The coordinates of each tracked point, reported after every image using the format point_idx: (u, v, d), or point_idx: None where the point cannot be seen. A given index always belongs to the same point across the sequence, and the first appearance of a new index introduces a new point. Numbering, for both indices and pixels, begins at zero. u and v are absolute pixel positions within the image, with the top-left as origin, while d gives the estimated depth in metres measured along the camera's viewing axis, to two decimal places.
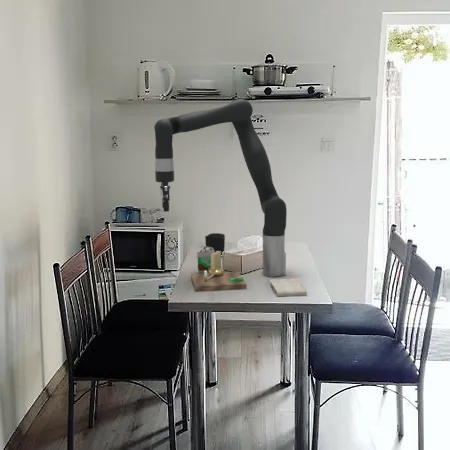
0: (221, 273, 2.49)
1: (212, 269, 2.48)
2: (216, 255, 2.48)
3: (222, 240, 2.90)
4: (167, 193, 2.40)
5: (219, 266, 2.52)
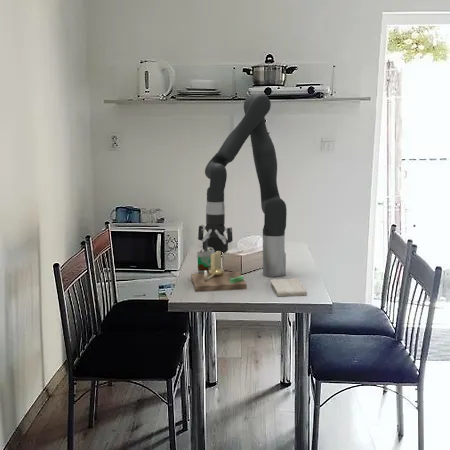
0: (221, 273, 2.49)
1: (212, 269, 2.48)
2: (216, 255, 2.48)
3: None
4: (231, 234, 2.46)
5: (219, 266, 2.52)
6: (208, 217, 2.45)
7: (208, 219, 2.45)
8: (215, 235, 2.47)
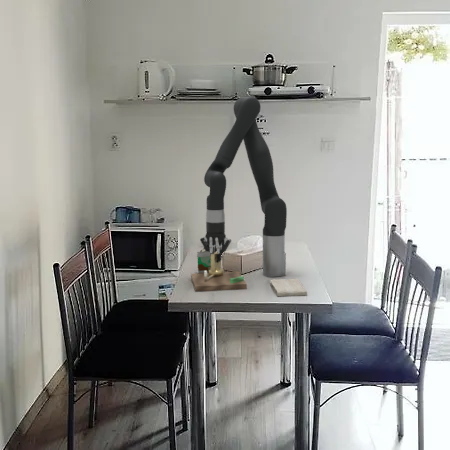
0: (221, 273, 2.49)
1: (212, 269, 2.48)
2: (216, 255, 2.48)
3: None
4: (227, 246, 2.48)
5: (219, 266, 2.52)
6: (208, 225, 2.45)
7: (208, 227, 2.45)
8: (215, 243, 2.48)
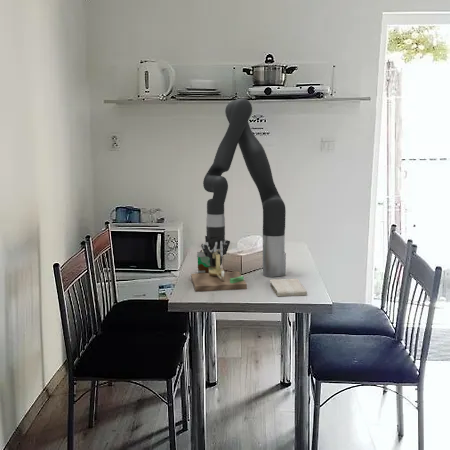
0: None
1: (218, 269, 2.48)
2: None
3: None
4: None
5: None
6: (217, 230, 2.44)
7: (217, 232, 2.44)
8: (218, 247, 2.49)
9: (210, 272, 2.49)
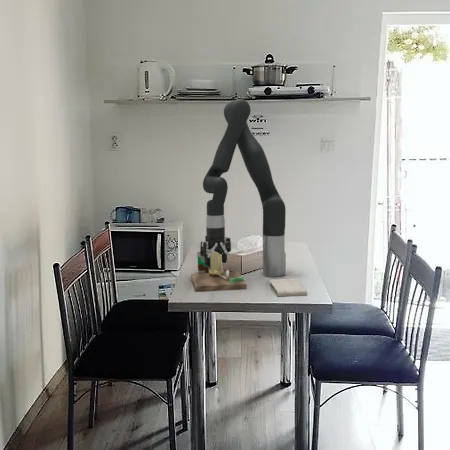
0: None
1: (219, 269, 2.48)
2: None
3: None
4: None
5: None
6: (217, 231, 2.45)
7: (217, 233, 2.45)
8: (218, 248, 2.49)
9: (211, 272, 2.49)
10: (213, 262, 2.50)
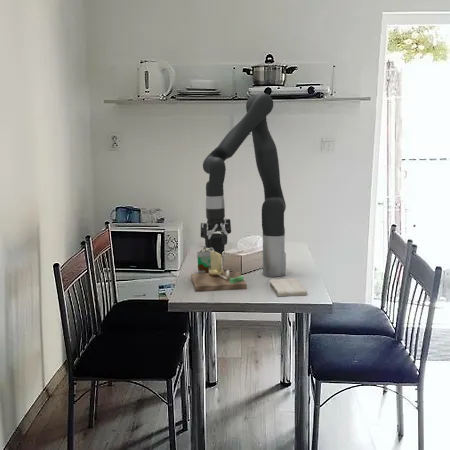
0: None
1: (219, 269, 2.48)
2: None
3: None
4: None
5: None
6: (217, 212, 2.43)
7: (217, 214, 2.43)
8: (218, 229, 2.47)
9: (211, 272, 2.49)
10: (213, 262, 2.50)
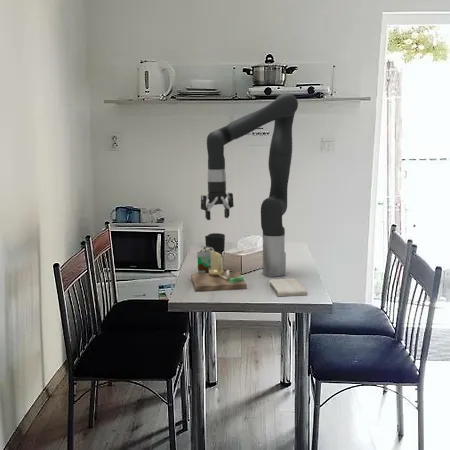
0: None
1: (219, 269, 2.48)
2: None
3: (222, 240, 2.90)
4: None
5: None
6: (217, 185, 2.48)
7: (217, 187, 2.48)
8: (219, 202, 2.53)
9: (211, 272, 2.49)
10: (213, 262, 2.50)
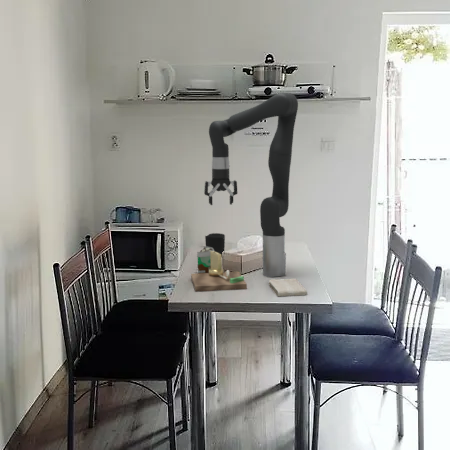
0: None
1: (219, 269, 2.48)
2: None
3: (222, 240, 2.90)
4: None
5: None
6: (218, 172, 2.61)
7: (218, 174, 2.61)
8: (222, 189, 2.65)
9: (211, 272, 2.49)
10: (213, 262, 2.50)
